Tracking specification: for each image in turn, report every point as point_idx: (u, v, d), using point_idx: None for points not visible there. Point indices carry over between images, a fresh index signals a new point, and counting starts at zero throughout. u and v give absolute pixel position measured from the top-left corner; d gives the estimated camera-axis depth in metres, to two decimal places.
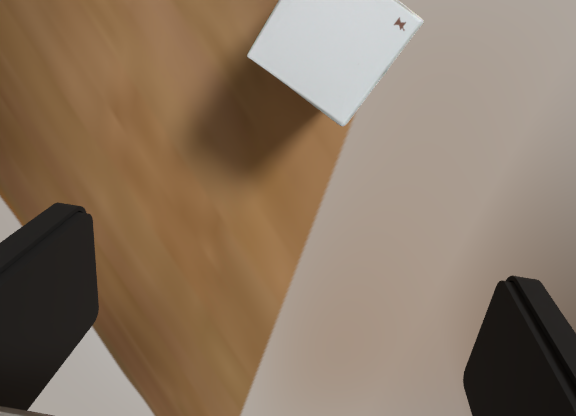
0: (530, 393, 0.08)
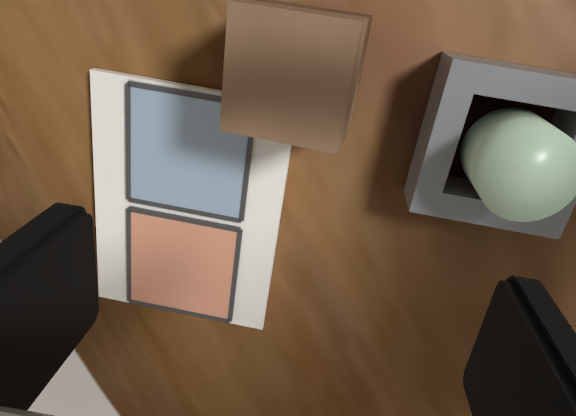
0: (530, 393, 0.08)
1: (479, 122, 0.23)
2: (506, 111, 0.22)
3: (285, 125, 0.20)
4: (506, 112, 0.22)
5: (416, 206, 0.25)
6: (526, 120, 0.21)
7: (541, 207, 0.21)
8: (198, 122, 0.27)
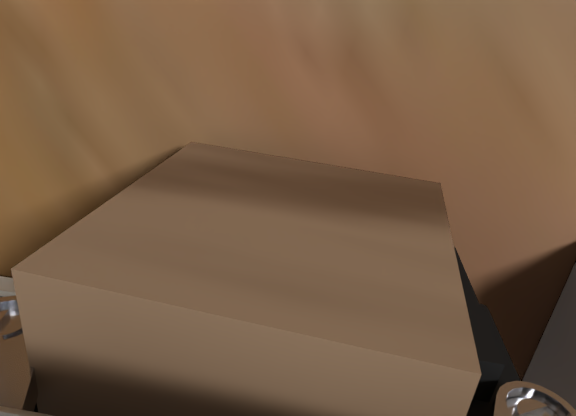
0: None
1: None
2: None
3: None
4: None
5: None
6: None
7: None
8: None
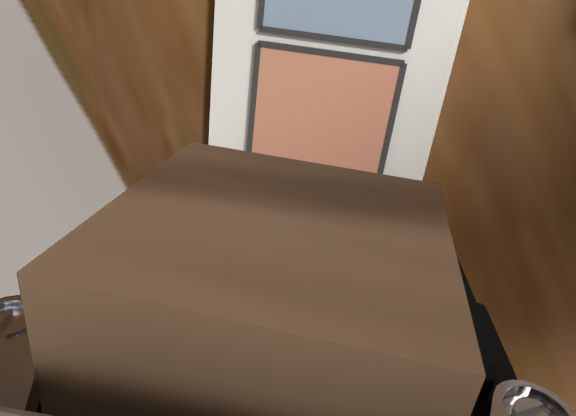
0: None
1: None
2: None
3: None
4: None
5: None
6: None
7: None
8: None
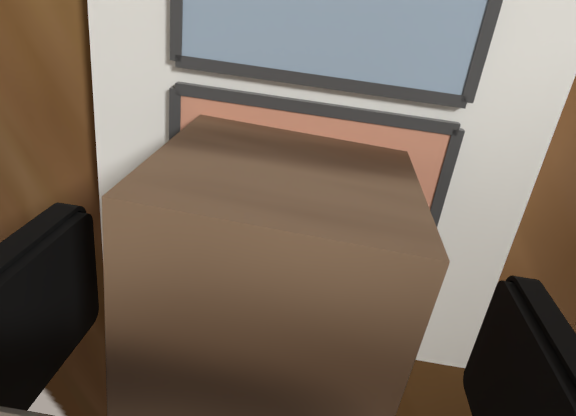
0: (530, 393, 0.08)
1: None
2: None
3: None
4: None
5: None
6: None
7: None
8: None
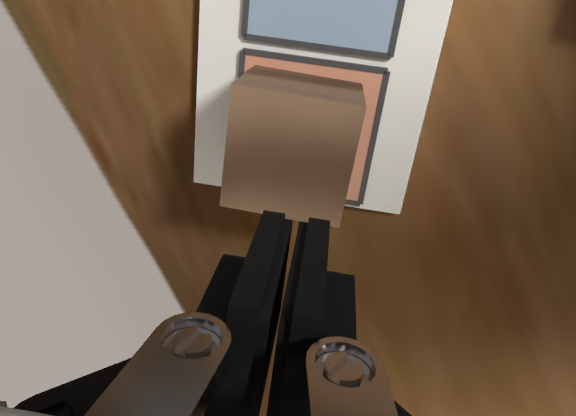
0: None
1: None
2: None
3: (288, 201, 0.21)
4: None
5: None
6: None
7: None
8: None
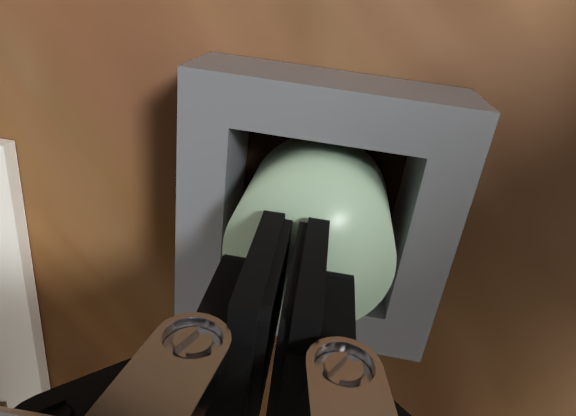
0: None
1: (265, 158, 0.14)
2: (298, 141, 0.14)
3: None
4: (296, 143, 0.14)
5: (183, 309, 0.15)
6: (302, 161, 0.12)
7: None
8: None
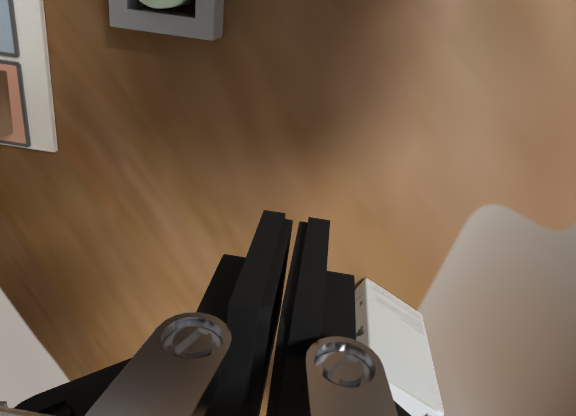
0: None
1: None
2: None
3: None
4: None
5: (113, 21, 0.35)
6: None
7: None
8: None
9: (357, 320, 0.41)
